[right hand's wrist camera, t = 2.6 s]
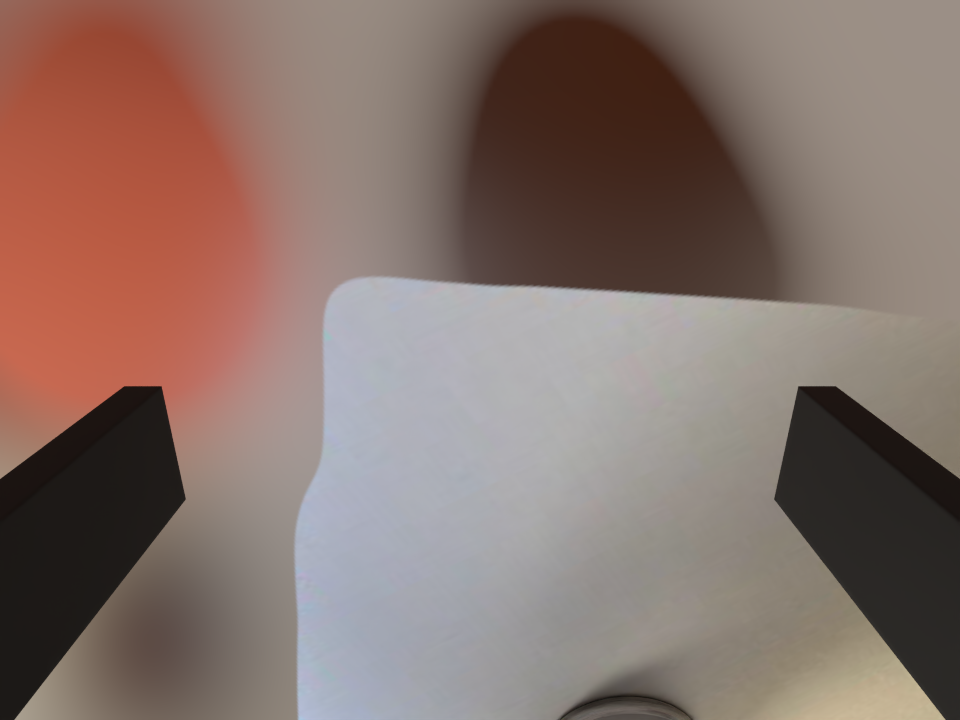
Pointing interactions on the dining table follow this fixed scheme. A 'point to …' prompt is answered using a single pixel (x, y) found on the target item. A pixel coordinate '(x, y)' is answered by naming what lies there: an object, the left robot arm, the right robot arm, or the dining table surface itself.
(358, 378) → the dining table surface
